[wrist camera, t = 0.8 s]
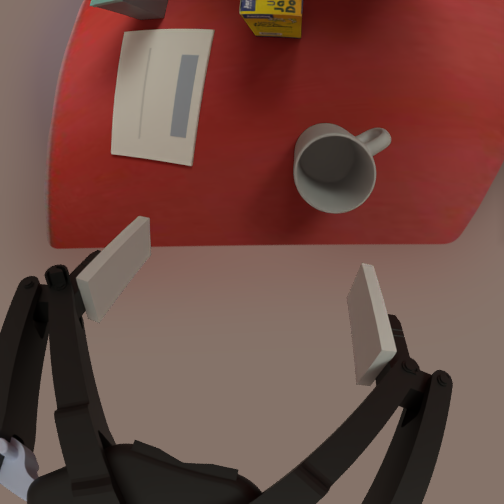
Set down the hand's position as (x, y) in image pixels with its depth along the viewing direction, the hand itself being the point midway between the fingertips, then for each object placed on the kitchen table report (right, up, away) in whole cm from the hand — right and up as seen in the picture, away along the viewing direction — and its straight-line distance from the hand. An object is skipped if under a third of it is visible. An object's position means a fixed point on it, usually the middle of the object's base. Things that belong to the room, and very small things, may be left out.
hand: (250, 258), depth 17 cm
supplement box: (+4, +30, +10) cm, 32 cm away
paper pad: (-13, +23, +17) cm, 32 cm away
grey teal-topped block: (-14, +35, +10) cm, 39 cm away
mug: (+11, +14, +18) cm, 26 cm away
